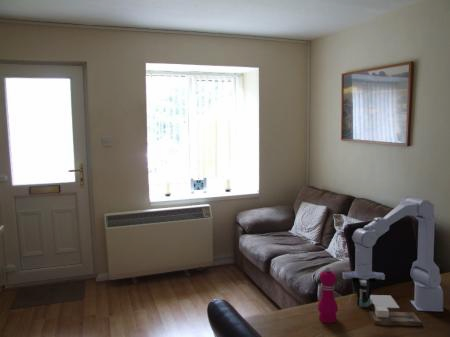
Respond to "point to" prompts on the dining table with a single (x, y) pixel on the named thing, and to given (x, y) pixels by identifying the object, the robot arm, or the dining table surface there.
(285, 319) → the dining table surface
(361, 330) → the dining table surface
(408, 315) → the switch board
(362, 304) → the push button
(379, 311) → the switch tab
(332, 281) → the pepper mill
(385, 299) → the parts mat
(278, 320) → the dining table surface
